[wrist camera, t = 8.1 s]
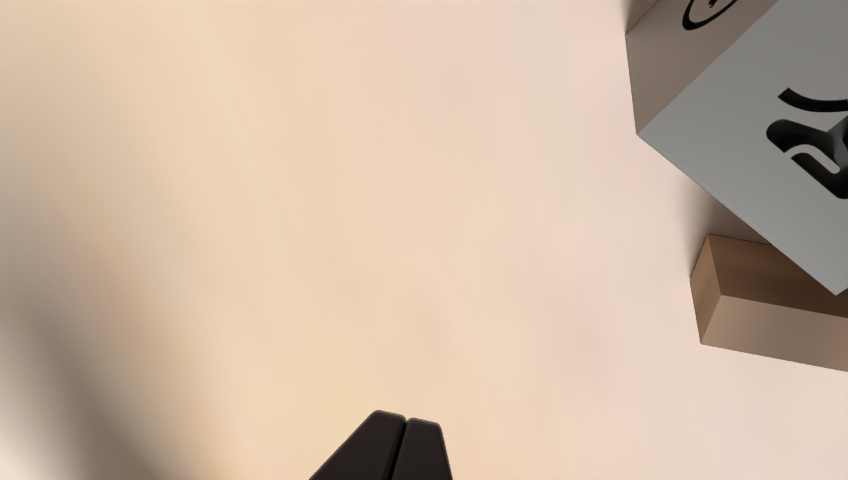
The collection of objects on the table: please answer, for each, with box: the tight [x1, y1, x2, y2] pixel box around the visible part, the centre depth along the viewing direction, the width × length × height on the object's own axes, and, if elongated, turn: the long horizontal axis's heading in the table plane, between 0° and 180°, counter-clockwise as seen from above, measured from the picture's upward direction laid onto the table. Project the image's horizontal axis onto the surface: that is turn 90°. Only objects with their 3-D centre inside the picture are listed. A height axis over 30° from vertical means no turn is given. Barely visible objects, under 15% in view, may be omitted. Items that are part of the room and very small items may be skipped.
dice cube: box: [625, 0, 848, 295], centre depth 15 cm, size 5×5×5 cm
